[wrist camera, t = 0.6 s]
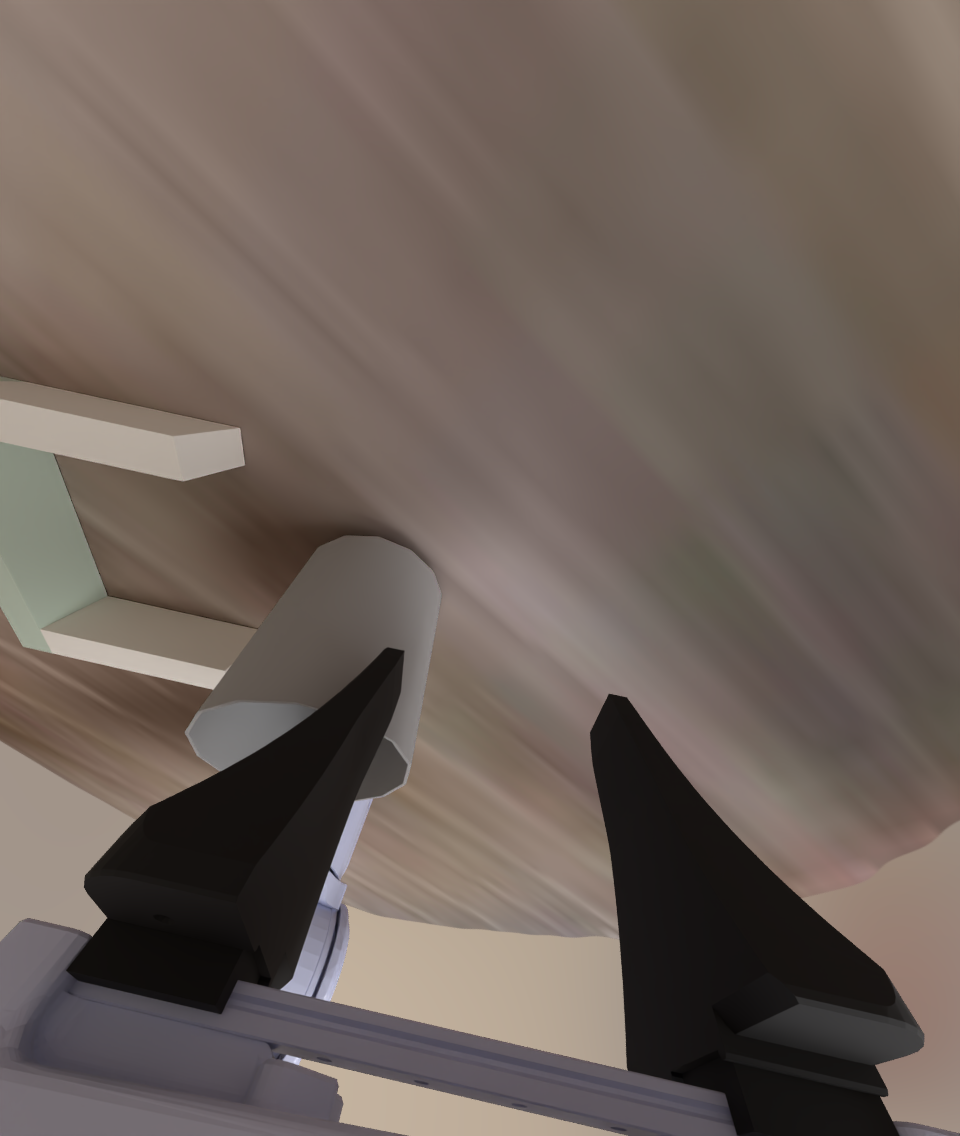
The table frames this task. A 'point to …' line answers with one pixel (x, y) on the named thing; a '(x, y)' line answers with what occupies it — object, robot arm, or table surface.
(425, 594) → the cup
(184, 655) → the stall
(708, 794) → the table surface
